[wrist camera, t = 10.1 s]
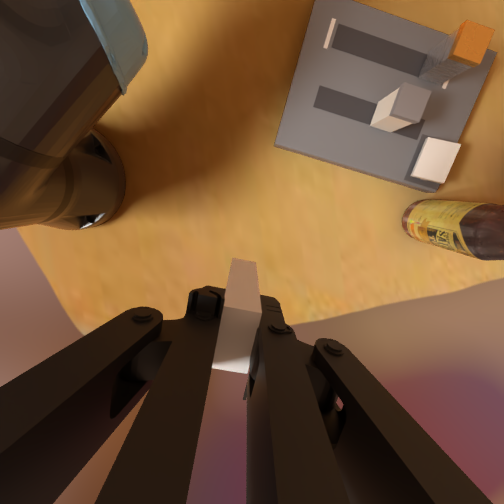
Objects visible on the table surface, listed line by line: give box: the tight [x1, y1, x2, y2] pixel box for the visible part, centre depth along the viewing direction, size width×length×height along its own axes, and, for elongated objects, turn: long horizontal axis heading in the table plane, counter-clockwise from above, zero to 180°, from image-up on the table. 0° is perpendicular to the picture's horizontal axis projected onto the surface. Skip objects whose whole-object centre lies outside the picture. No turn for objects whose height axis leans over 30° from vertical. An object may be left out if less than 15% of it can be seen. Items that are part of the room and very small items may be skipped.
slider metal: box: [419, 20, 495, 85], centre depth 29 cm, size 3×3×6 cm
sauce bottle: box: [402, 199, 504, 260], centre depth 29 cm, size 7×6×20 cm
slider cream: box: [370, 82, 432, 133], centre depth 30 cm, size 3×3×6 cm
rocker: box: [411, 137, 461, 184], centre depth 34 cm, size 4×5×2 cm
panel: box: [274, 0, 497, 193], centre depth 34 cm, size 24×18×2 cm
